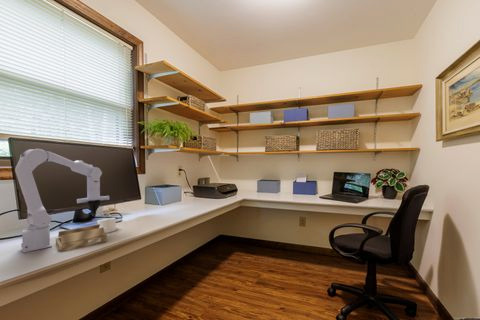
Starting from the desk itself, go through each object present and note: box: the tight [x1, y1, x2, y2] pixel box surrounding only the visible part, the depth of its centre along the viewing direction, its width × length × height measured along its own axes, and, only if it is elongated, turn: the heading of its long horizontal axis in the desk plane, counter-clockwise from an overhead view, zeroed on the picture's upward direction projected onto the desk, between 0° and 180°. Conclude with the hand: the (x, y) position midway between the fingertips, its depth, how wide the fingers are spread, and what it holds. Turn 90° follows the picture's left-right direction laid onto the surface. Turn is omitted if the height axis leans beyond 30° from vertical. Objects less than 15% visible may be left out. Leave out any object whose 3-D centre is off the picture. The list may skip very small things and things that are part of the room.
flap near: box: [61, 227, 105, 244], centre depth 105 cm, size 17×4×1 cm
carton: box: [55, 232, 108, 252], centre depth 108 cm, size 18×13×3 cm
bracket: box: [96, 217, 117, 234], centre depth 122 cm, size 20×9×7 cm, turn 146°
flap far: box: [57, 224, 100, 238], centre depth 111 cm, size 17×4×1 cm
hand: (93, 214), depth 120 cm, fingers closed
